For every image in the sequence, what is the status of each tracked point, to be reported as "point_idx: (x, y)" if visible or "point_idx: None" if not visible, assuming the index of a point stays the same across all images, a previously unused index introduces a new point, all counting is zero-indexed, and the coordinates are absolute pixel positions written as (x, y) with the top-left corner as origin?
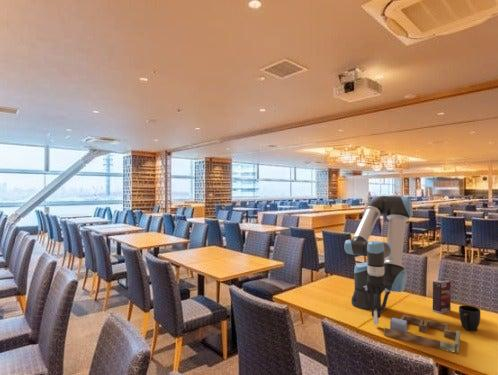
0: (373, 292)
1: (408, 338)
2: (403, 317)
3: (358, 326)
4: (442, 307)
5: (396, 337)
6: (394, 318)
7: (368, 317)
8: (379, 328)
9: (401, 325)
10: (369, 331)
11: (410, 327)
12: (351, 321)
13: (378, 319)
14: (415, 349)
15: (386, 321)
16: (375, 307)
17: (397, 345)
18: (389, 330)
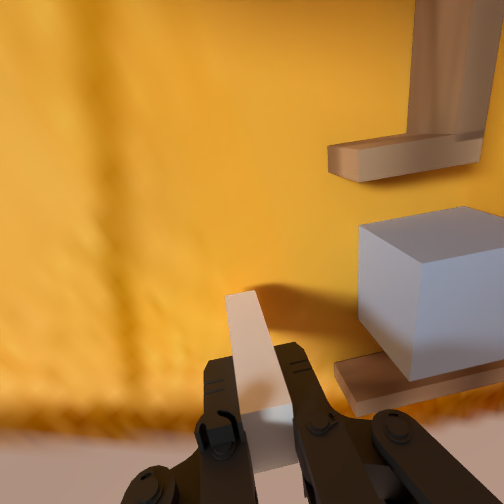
0: None
1: None
2: (495, 14)
3: (131, 386)
4: None
5: None
6: (438, 271)
7: (62, 142)
8: (271, 308)
9: (497, 355)
10: None
11: (492, 97)
12: (21, 353)
13: (262, 314)
14: (500, 393)
15: (268, 112)
16: (242, 428)
17: (418, 418)
18: (390, 405)
